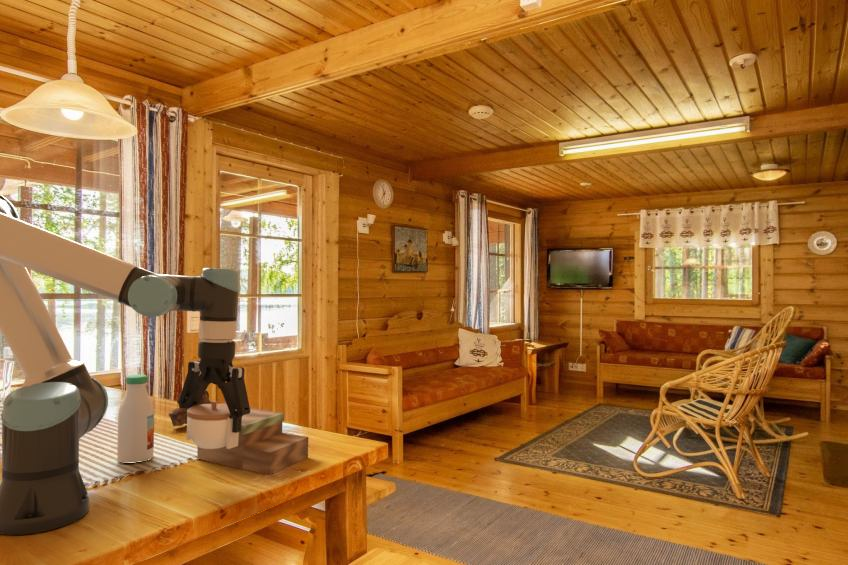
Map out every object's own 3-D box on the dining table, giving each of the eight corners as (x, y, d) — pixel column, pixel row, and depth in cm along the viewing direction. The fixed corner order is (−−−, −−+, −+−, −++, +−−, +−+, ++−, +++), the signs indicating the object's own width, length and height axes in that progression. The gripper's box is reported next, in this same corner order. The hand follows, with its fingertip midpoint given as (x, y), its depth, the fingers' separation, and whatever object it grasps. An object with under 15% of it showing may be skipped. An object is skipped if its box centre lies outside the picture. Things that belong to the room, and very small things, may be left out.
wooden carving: (180, 432, 162) (181, 396, 162) (167, 430, 163) (167, 395, 163) (218, 418, 177) (219, 385, 177) (206, 416, 179) (206, 384, 179)
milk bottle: (138, 466, 133) (140, 379, 133) (109, 463, 135) (110, 377, 134) (160, 456, 141) (161, 373, 140) (132, 453, 142) (133, 372, 142)
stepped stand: (270, 474, 129) (271, 421, 129) (197, 459, 139) (198, 409, 138) (308, 457, 142) (309, 408, 142) (239, 444, 151) (239, 398, 151)
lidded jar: (248, 445, 125) (250, 401, 125) (205, 456, 117) (207, 409, 117) (217, 435, 132) (219, 394, 131) (174, 444, 123) (176, 400, 123)
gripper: (271, 343, 122) (266, 447, 123) (191, 334, 132) (186, 430, 132) (246, 346, 116) (241, 456, 116) (164, 336, 125) (158, 437, 126)
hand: (211, 442), depth 124 cm, fingers closed on lidded jar, 11 cm apart
